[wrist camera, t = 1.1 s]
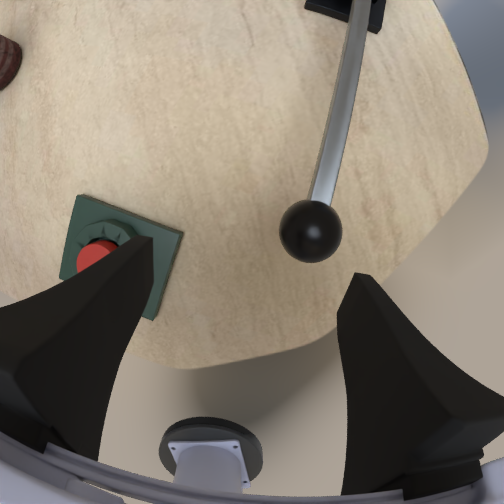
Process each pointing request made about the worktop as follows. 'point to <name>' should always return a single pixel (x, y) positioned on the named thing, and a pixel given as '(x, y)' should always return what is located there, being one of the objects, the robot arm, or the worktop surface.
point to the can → (8, 60)
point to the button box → (119, 241)
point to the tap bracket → (339, 6)
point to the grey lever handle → (328, 156)
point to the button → (94, 253)
